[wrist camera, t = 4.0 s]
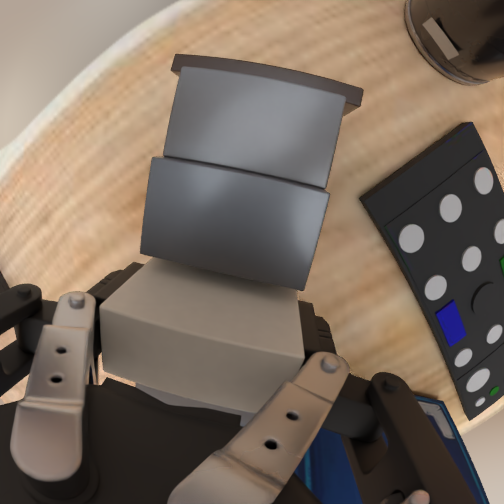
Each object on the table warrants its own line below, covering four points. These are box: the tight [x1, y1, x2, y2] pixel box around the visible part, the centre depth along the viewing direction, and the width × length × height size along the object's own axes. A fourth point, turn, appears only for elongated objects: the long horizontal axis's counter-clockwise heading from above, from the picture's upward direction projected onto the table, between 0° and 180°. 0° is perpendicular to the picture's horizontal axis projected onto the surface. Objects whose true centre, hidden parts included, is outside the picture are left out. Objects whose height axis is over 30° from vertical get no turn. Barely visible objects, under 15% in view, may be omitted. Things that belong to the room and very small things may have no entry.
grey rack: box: [136, 54, 364, 427], centre depth 17 cm, size 19×8×12 cm, turn 168°
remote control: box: [359, 122, 504, 421], centre depth 22 cm, size 11×30×2 cm, turn 37°
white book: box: [99, 257, 305, 413], centre depth 15 cm, size 3×6×14 cm, turn 78°
